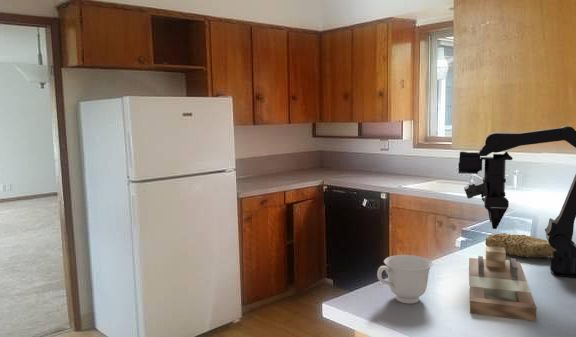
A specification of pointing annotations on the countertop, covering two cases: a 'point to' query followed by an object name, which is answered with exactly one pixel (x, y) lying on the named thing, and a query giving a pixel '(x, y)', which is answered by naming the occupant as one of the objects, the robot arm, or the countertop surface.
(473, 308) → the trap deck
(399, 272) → the teacup
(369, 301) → the countertop surface
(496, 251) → the maple block
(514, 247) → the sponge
